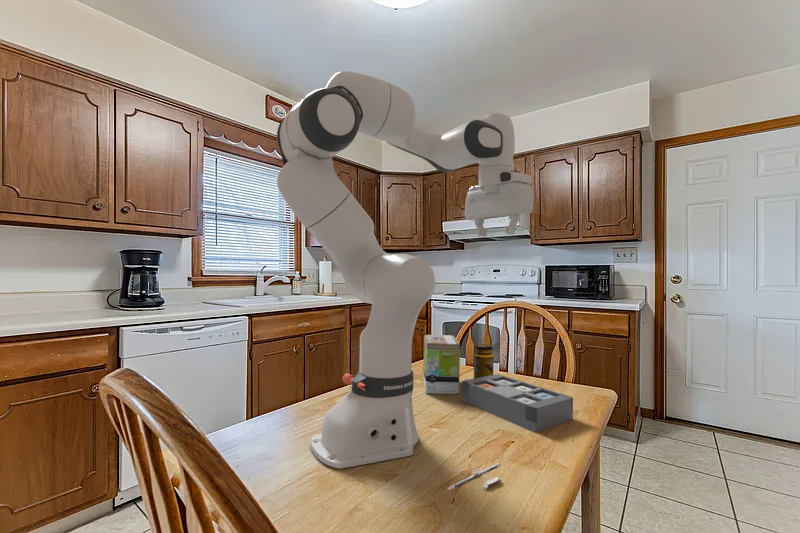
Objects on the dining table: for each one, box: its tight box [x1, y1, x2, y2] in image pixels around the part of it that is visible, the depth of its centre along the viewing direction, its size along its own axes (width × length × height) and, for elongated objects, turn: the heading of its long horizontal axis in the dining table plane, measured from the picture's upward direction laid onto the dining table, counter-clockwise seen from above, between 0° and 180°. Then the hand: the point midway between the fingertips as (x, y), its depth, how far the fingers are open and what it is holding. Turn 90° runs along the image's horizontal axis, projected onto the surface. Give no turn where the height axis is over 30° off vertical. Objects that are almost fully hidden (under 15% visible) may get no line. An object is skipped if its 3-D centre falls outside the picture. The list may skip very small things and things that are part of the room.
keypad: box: [461, 373, 574, 433], centre depth 101 cm, size 14×24×5 cm, turn 33°
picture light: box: [446, 462, 502, 491], centre depth 67 cm, size 14×4×2 cm, turn 129°
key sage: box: [516, 397, 537, 404], centre depth 93 cm, size 4×4×2 cm
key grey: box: [494, 380, 515, 388], centre depth 108 cm, size 4×4×2 cm
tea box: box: [422, 334, 461, 395], centre depth 119 cm, size 15×10×15 cm
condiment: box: [463, 343, 494, 381], centre depth 123 cm, size 7×8×12 cm
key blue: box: [532, 392, 555, 402], centre depth 97 cm, size 4×4×2 cm
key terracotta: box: [477, 384, 494, 389], centre depth 104 cm, size 4×4×2 cm
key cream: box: [515, 386, 534, 398], centre depth 103 cm, size 4×4×2 cm
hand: (495, 235), depth 100 cm, fingers open, 8 cm apart
